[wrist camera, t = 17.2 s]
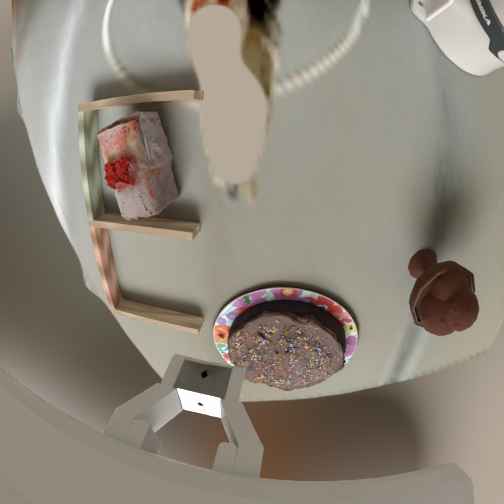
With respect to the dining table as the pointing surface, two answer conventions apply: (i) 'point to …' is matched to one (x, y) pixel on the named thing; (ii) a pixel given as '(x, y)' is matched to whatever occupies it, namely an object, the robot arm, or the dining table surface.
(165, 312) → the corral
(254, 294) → the chocolate cake
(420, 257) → the ice cream bowl
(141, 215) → the food item
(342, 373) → the dining table surface
